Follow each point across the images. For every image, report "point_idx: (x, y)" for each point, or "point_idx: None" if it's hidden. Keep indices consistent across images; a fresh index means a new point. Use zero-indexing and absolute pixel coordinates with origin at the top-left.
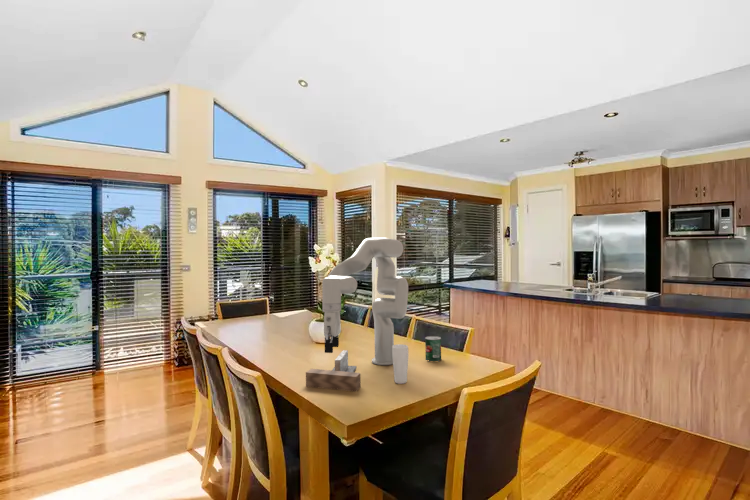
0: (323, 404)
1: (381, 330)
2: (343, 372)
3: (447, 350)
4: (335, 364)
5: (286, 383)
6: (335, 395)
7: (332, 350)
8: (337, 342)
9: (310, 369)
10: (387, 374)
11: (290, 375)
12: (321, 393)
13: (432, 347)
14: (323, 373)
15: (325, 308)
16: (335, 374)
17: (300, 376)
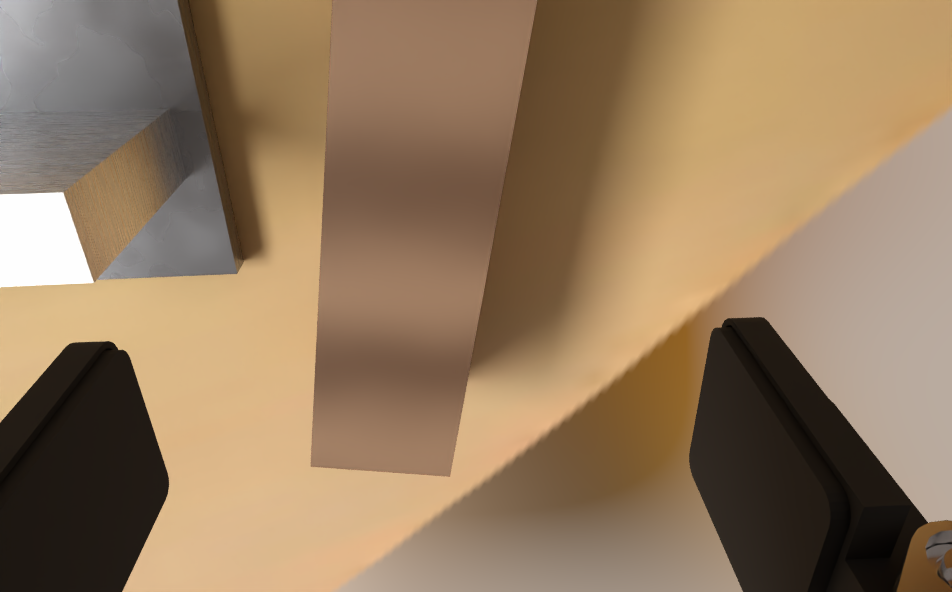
0: (916, 84)
1: None
2: (377, 25)
3: None
4: (120, 238)
5: (404, 531)
6: (683, 23)
7: (781, 344)
8: (71, 433)
9: (341, 466)
10: None
11: (210, 569)
12: (623, 191)
13: None
14: (465, 293)
15: None
16: (489, 126)
17: (207, 499)
